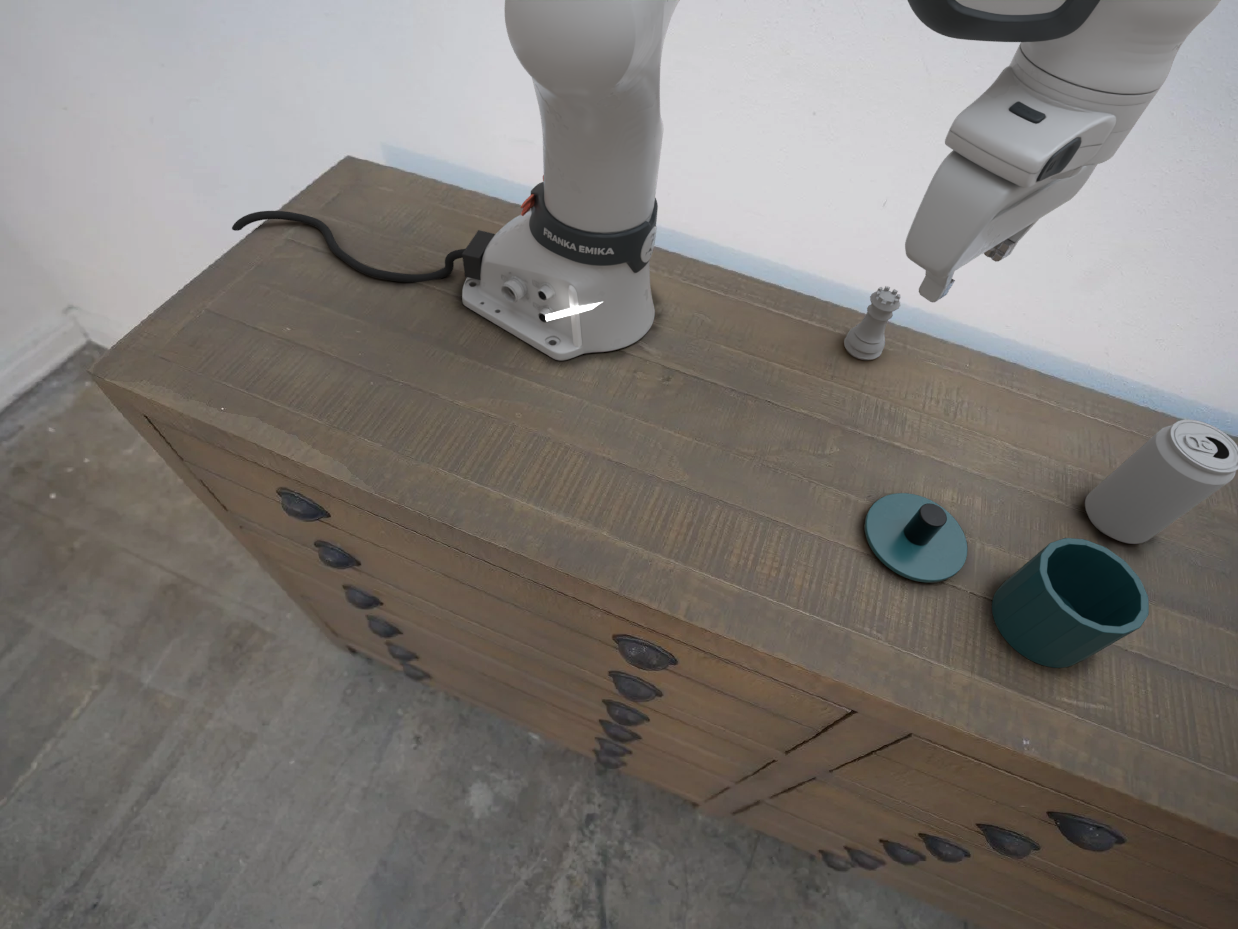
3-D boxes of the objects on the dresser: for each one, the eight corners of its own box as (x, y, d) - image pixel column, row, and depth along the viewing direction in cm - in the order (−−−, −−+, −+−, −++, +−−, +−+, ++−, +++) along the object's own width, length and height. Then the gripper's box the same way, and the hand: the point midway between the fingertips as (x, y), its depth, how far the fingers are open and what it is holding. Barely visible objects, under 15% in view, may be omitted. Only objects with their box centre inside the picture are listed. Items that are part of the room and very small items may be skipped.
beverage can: (1155, 554, 64) (1261, 482, 55) (1086, 539, 65) (1179, 465, 55) (1139, 500, 68) (1235, 423, 58) (1074, 486, 68) (1158, 408, 59)
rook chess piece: (883, 341, 79) (911, 287, 73) (878, 367, 77) (907, 312, 70) (845, 330, 80) (870, 275, 74) (839, 355, 77) (865, 300, 71)
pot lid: (852, 559, 62) (870, 534, 58) (873, 485, 67) (891, 457, 63) (954, 602, 60) (980, 578, 56) (968, 522, 65) (992, 495, 61)
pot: (986, 642, 58) (1036, 604, 52) (997, 565, 62) (1043, 523, 56) (1086, 684, 56) (1149, 651, 50) (1089, 603, 61) (1148, 563, 55)
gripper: (1094, 55, 51) (998, 216, 62) (937, 125, 43) (859, 298, 54) (1175, 90, 49) (1060, 252, 60) (1025, 173, 40) (923, 344, 51)
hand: (963, 274), depth 57 cm, fingers open, 8 cm apart
